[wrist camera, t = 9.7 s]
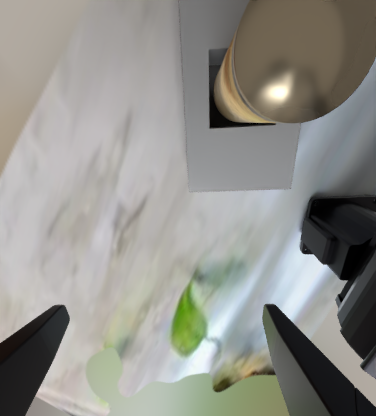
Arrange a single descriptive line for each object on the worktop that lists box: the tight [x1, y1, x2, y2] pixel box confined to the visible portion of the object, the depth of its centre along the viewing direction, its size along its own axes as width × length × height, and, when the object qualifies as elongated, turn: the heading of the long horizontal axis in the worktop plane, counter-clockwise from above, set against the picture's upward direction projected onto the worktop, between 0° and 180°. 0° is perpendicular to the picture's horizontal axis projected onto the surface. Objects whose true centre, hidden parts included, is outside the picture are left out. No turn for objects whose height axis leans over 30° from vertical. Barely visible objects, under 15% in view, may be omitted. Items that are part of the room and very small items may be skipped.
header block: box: [179, 0, 301, 192], centre depth 15 cm, size 8×14×4 cm, turn 3°
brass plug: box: [213, 0, 376, 123], centre depth 10 cm, size 4×4×8 cm
